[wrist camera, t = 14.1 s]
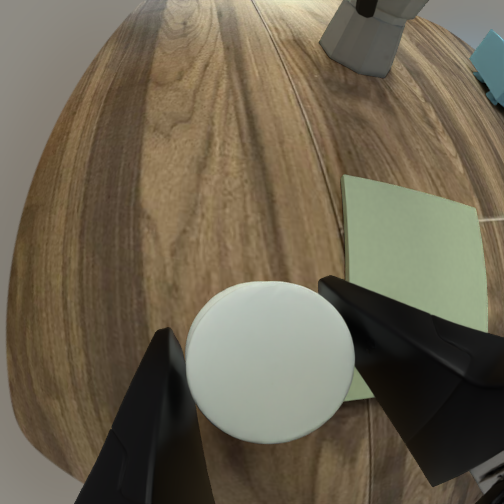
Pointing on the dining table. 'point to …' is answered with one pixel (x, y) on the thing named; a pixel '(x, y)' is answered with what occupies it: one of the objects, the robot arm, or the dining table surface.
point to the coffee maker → (368, 33)
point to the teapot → (491, 66)
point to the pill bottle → (269, 361)
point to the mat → (414, 254)
